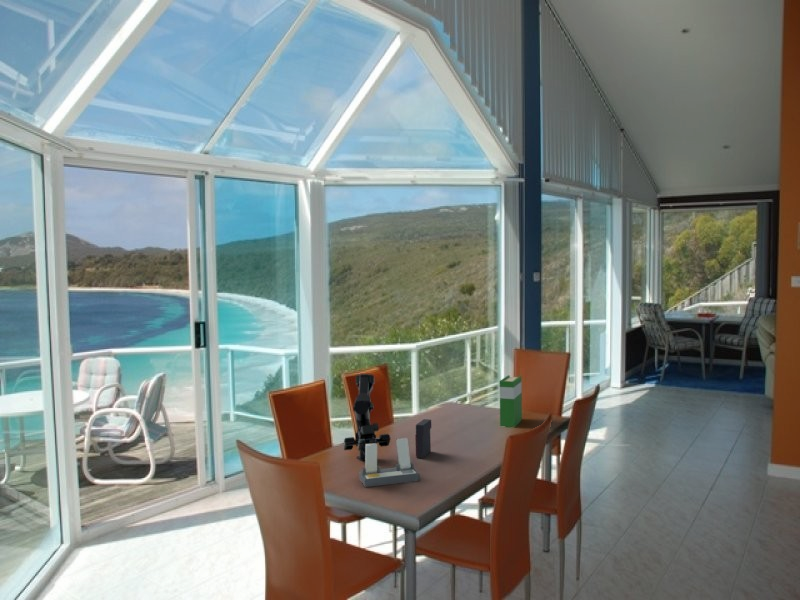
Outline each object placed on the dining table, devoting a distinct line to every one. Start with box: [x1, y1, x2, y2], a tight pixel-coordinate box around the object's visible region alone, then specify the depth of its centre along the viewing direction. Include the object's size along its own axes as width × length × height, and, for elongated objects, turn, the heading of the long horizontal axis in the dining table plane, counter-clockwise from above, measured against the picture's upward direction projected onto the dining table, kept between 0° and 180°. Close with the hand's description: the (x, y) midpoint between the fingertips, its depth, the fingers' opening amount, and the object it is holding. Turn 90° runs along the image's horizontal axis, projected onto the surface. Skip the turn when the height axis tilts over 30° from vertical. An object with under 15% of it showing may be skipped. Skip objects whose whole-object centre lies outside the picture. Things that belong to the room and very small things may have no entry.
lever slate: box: [395, 437, 411, 469], centre depth 257 cm, size 2×4×12 cm, turn 105°
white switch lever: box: [364, 443, 378, 473], centre depth 250 cm, size 2×4×12 cm, turn 106°
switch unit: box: [358, 461, 420, 488], centre depth 252 cm, size 10×22×5 cm, turn 106°
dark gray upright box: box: [414, 418, 432, 459], centre depth 284 cm, size 11×4×15 cm, turn 159°
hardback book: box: [499, 374, 523, 428], centre depth 336 cm, size 18×7×24 cm, turn 156°
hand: (370, 460), depth 252 cm, fingers closed, pressing on white switch lever
